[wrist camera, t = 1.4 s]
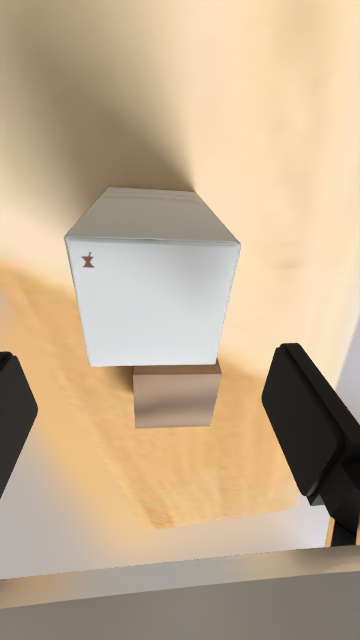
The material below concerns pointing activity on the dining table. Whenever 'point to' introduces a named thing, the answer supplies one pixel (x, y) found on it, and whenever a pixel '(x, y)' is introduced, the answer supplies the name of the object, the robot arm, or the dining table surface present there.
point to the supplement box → (151, 277)
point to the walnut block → (175, 395)
